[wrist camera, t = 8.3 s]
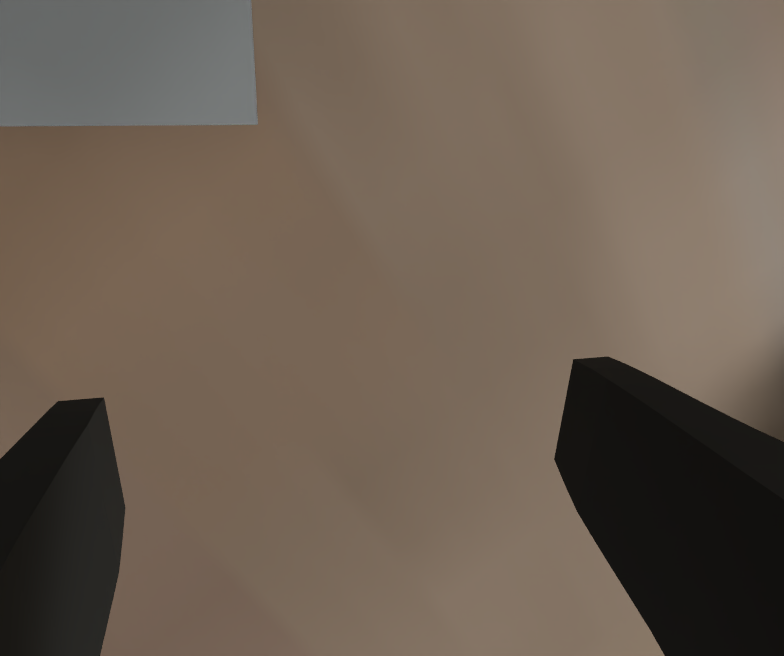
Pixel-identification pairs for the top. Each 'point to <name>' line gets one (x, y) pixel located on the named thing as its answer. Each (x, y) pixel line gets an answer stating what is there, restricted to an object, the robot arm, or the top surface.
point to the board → (126, 63)
